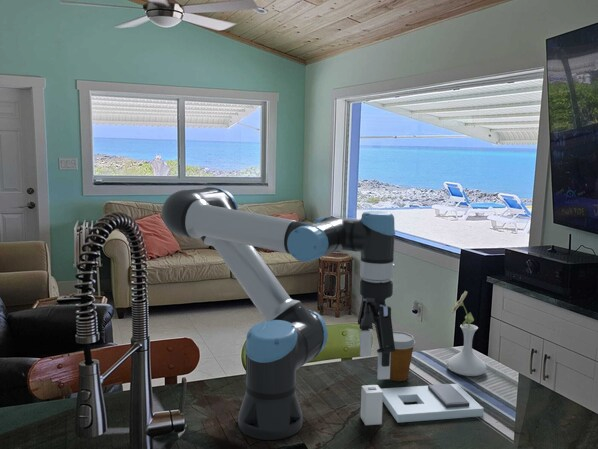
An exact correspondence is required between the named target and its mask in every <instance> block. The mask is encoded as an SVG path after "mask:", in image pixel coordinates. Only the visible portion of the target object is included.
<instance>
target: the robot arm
mask: <svg viewBox="0 0 598 449" xmlns="http://www.w3.org/2000/svg"><path fill="white" fill-rule="evenodd" d="M238 208H239V206H238V202H237V200H236V199H235V197H234V195H233V194H232V193H230V192H229V191H228V190H226V189H224V188H221V187H213V186H208V187H204V188H197V189H181V190H177V191H175V192H173V193H172V194H171V195H169V196H168V197H167V198H166V199H165V201H164V203H163V205H162V209H161V217H162V222H163V223H164V226H165V227H166V228H167V229H168V230H169V231H170V232H171V233H173V234H175V235H178V236H181V237H187V238H192V239H201V241H202V242H203V244H204V245H205V246H209V247H211V246H212V247H213V248H214V250H215V251H216V252H217V253H218V255H219V256H220V257H221V259H222V261H223V262H224V263H225V265H226V266H227V267H228V269H229V270H230V272H231V273H232V275H233V276H234V278H235V279H236V280H237V282H238V283H239V285H240V286H241V288H242V289H243V290H244V292H245V293H246V295H247V296H248V298H249V299H250V301H251V302H252V303H253V305H254V306H255V307H256V309H257V311H259V313H260V314H261V316H262V318H263V319H264V320H263V321H261V322H258V323H256V324H254V325H253V326H251V328H249V329H248V331H247V333H246V337H245V338H246V341H245V345H244V350H245V394H244V396H243V400H242V403H241V405H240V408H239V412H238V416H237V419H238V420H237V421H238V422H237V425H238V429H239V430H240V432H242V433H243V434H244V435H246V436H248V437H250V438H253V439H256V440H257V439H258V440H264V441H274V440H283V439H287V438H289V437H291V436H293V435H296V434H297V433H298V432H299V431H300V430H301V429H302V428H303V422H304V421H303V419H304V418H303V411H302V408H301V404H300V401H299V398H298V395H297V391H296V390H297V388H296V386H297V383H296V382H297V370H299V369H300V368H301V367H303V366H304V365H306V364H307V363H308V362H310V361H311V360H313V359H315V358H316V357H318V355H319V354H320V353H321V352H322V351H323V350H324V348H325V347H326V345H327V343H328V335H329V332H328V331H329V330H328V326H327V324H326V322H325V319H324V318H323V317H322V316H321V314H319V313H318V312H316V311H315V310H314V311H312V310H310V309H307V308H306V307H305V305H303V303H302V301H300V300H297V299H293V298H292V297H290V295H289V294H288V292H287V291H286V290H285V288H284V287H283V286H282V284H281V283H280V281H279V279H278V278H277V277H276V276H275V274H274V273H273V271H272V270H271V268H270V267H269V266H268V265H267V263H266V262H265V260H264V259H263V258H262V257H261V255H260V254H259V252H258V251H257V249H256V248H260V249H265V250H269V251H274V252H279V253H284V254H288V255H291V256H292V257H293V258H294V259H295V260H297V261H299V262H302V263H307V262H314V261H317V260H319V259H320V258H322V257H325V256H328V255H331V254H332V253H333V254H334V253H336V252H338V251H346V252H355V253H356V252H357V253H360V259H359V263H360V264H359V277H360V279H359V280H360V281H359V294H360V296H361V303H360V308H359V313H358V318H357V324H358V325H359V329H360V330H359V333H360V334H359V335H360V338H359V357H371V356H372V339H373V338H372V337H373V336H372V334H373V329H374V328H375V332H376V337H377V341H378V347H379V348H377V350H376V352H377V372H376V376H377V378H376V379H377V380H379V381H381V380H390V360H391V352H395V345H394V337H393V331H394V330H393V322H392V308H391V306H389V305H388V306H387V304H386V299H389V298H391V297H392V296H393V292H394V290H393V289H394V288H393V286H394V282H393V281H394V280H392V279H393V278H394V269H395V268H396V265H395V264H394V256H395V255H394V252H395V235H396V229H395V227H396V226H395V217H394V215H393V213H391V212H388V211H381V210H380V211H379V210H378V211H374V210H373V211H372V210H371V211H363V212H362V214H361V218H360V219H358V218H357V219H355V218H354V219H353V218H341V217H334V216H326V217H324V216H323V217H322V216H321V217H320V216H319V217H317V218H316V219H315V220H314V221H313V222H312V223H311V222H307V221H306V222H305V221H298V220H293V219H289V218H284V217H277V216H272V215H266V214H260V213H254V212H249V211H245V210H238ZM255 247H256V248H255ZM373 325H374V326H373Z"/></svg>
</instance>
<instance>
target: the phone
mask: <svg viewBox="0 0 598 449" xmlns="http://www.w3.org/2000/svg"><path fill="white" fill-rule="evenodd" d="M450 384H451V383H441V384H439V383H438V384H437V383H436V384H428V385H427V386H428V389H429V390H430V391H431V392H432V393H433V394H434V395H435V396H436V397H437V398H438V399H439V401H440V402H441V403H442V404H443V405H444V406H445V407H446V408H453V407H467V406H469V402H468V401H467V400H466V399H465V398H464V397H463V396H462V395H461V394H460V393H459V392H458V391H457V390H456V389H454V388H453V387H452V386H451V385H450Z"/></svg>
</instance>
